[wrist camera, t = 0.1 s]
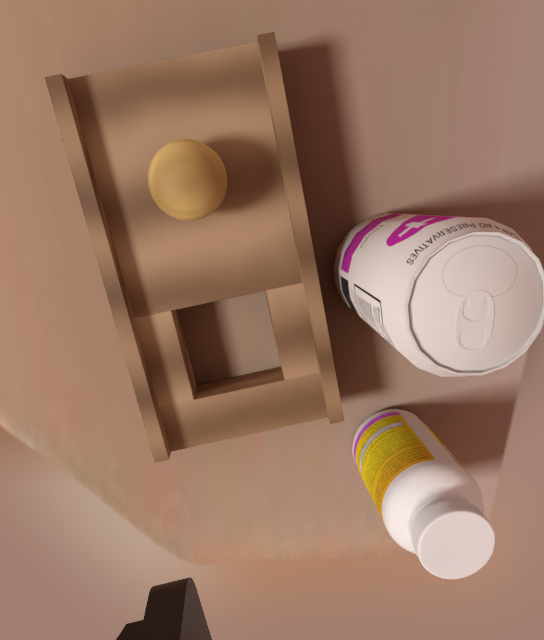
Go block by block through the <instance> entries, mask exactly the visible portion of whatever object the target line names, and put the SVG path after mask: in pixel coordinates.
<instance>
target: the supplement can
mask: <svg viewBox="0 0 544 640" xmlns="http://www.w3.org/2000/svg"><path fill="white" fill-rule="evenodd" d="M333 269H334V277H335V286H336V288H337V290H338V292H339V294H340V296H341V298H342V300H343V302H344V303H345V304H346V305H347V306H348V307H349V308H351V309H352V310H353V311H354V312H355V313H356V314H357V315H358V316H360V317H361V318H362V319H363V320H364V321H365V322H366V323H367V324H369V325H370V326H371V327H372V328H373V329H374V330H375V331H376V332H378V333H379V334H380V335H381V336H382V337H383V338H384V339H386V340H387V341H388V342H389V343H390V344H391V345H392V346H393V347H395V348H396V349H397V350H398V351H399V352H400V353H401V354H402V355H404V356H405V357H406V358H407V359H408V360H409V361H410V362H411V363H413V364H414V365H415V366H416V367H417V368H419V369H422V370H425V371H428V372H430V373H433V374H436V375H439V376H441V377H468V376H471V375H484V374H487V373H489V372H492V371H495V370H498V369H501V368H504V367H506V366H507V365H509V364H510V363H511V362H513V361H514V360H515V359H517V358H518V357H519V356H521V355H522V354H523V353H525V352H526V351H527V349H528V348H529V347H530V345H531V344H532V342H533V341H534V339H535V338H536V337H537V335H538V334H539V333H540V331H541V328H542V325H543V322H544V270H543V268H542V265H541V263H540V260H539V259H538V258H537V257H536V256H535V255H534V253H533V251H532V249H531V247H530V246H529V245H528V244H527V243H526V242H525V241H524V240H523V239H522V238H521V237H520V236H519V235H518V234H517V233H516V232H515V231H514V230H513V229H512V228H510V227H507V226H505V225H503V224H500V223H498V222H496V221H493V220H491V219H489V218H479V217H459V216H440V215H420V214H399V213H381V214H378V215H375V216H372V217H369V218H366V219H364V220H362V221H361V222H360V223H359V224H357V225H356V226H355V227H354V228H352V229H351V230H350V231H349V232H348V233H347V235H346V236H345V238H344V239H343V241H342V243H341V244H340V246H339V247H338V249H337V254H336V258H335V262H334V267H333Z"/></svg>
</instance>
